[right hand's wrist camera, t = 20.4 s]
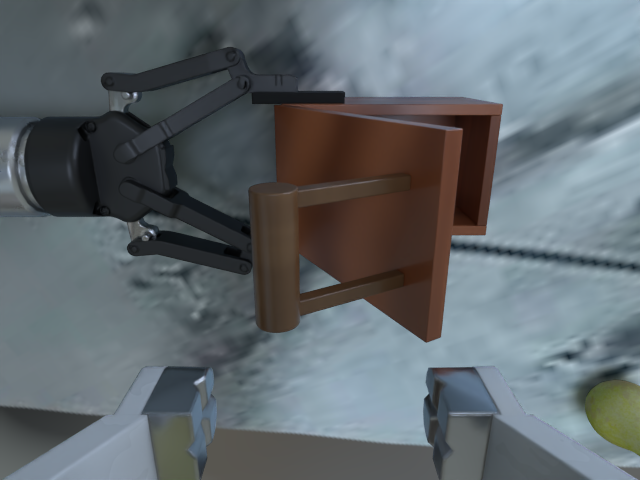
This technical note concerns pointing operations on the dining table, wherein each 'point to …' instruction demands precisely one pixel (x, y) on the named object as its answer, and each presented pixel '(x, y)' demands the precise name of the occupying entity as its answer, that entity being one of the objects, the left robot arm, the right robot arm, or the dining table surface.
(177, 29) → the dining table surface
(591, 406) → the fruit
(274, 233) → the lid
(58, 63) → the dining table surface
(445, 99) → the chest
